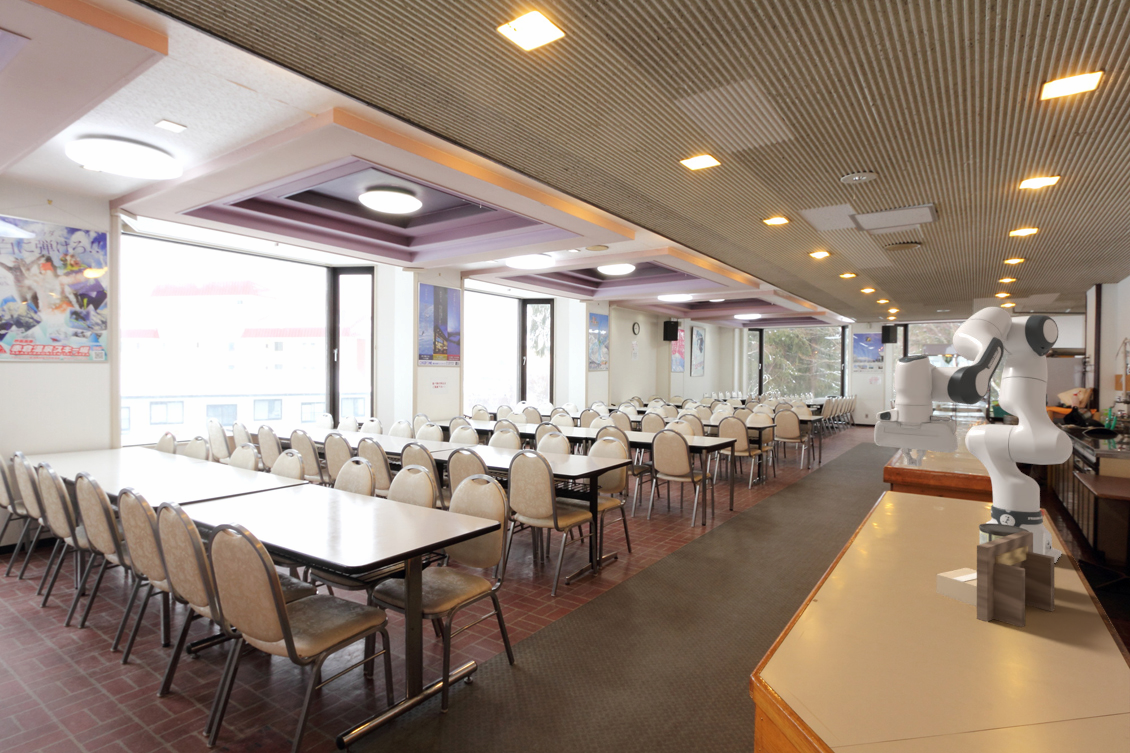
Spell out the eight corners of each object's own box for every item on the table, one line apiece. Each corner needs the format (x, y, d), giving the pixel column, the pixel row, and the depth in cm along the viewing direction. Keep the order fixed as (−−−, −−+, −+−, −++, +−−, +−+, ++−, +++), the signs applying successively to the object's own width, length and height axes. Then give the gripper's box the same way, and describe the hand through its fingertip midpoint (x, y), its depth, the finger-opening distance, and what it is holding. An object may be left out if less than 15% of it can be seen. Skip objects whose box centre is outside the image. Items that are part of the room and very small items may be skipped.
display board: (1020, 596, 138) (1020, 530, 138) (1059, 606, 132) (1059, 537, 132) (974, 617, 125) (974, 545, 125) (1014, 630, 119) (1014, 553, 119)
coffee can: (1014, 576, 152) (1014, 524, 152) (1038, 590, 142) (1038, 534, 142) (971, 574, 154) (971, 521, 154) (991, 587, 144) (991, 531, 144)
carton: (966, 587, 145) (966, 566, 145) (1010, 601, 136) (1010, 579, 136) (936, 594, 140) (936, 573, 140) (980, 609, 131) (980, 586, 131)
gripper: (961, 416, 148) (962, 469, 148) (882, 412, 165) (883, 459, 165) (950, 418, 145) (951, 472, 145) (870, 413, 162) (871, 462, 162)
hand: (914, 465), depth 155 cm, fingers closed
